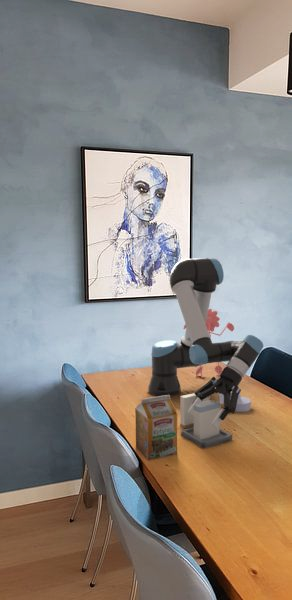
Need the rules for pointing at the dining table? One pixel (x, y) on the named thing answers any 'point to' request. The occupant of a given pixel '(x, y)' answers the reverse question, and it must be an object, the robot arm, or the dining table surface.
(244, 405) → the wedge on round base
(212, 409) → the stub
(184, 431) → the tray
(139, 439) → the milk carton
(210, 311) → the figurine
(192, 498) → the dining table surface
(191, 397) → the cream square slab
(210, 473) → the dining table surface
